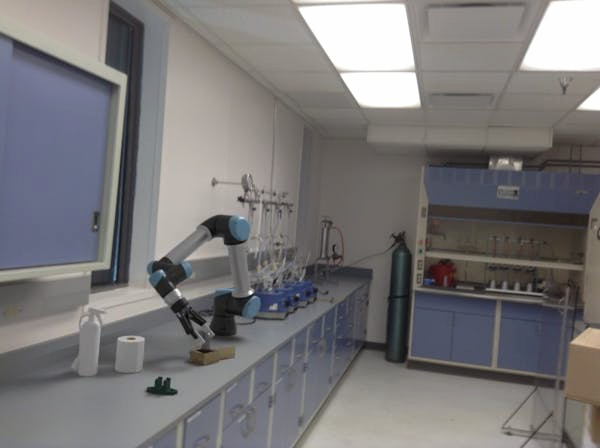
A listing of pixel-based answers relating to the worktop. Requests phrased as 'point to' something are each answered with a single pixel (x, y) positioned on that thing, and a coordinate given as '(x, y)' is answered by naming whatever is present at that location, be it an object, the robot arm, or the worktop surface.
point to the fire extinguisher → (89, 342)
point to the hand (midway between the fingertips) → (207, 340)
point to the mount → (162, 387)
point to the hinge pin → (206, 342)
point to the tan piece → (211, 355)
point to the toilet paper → (129, 354)
